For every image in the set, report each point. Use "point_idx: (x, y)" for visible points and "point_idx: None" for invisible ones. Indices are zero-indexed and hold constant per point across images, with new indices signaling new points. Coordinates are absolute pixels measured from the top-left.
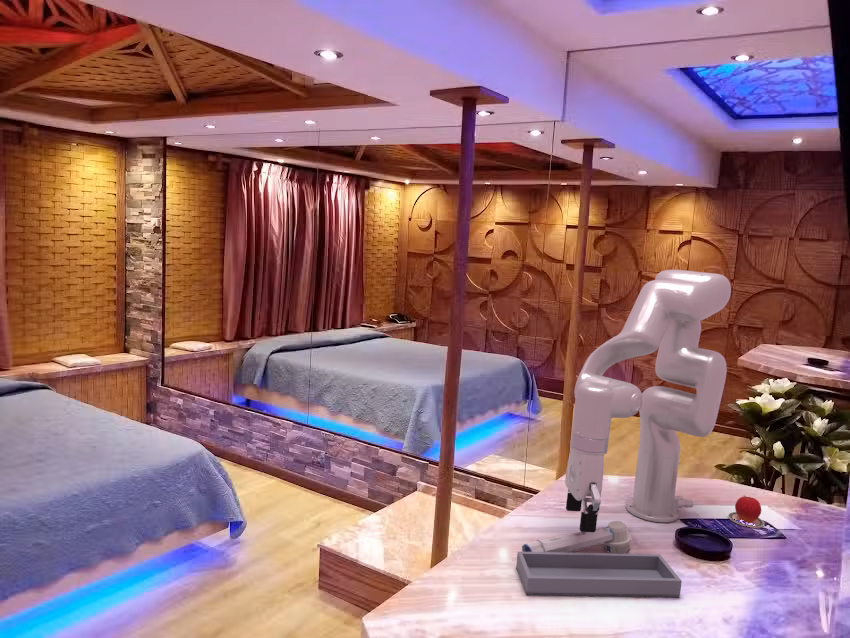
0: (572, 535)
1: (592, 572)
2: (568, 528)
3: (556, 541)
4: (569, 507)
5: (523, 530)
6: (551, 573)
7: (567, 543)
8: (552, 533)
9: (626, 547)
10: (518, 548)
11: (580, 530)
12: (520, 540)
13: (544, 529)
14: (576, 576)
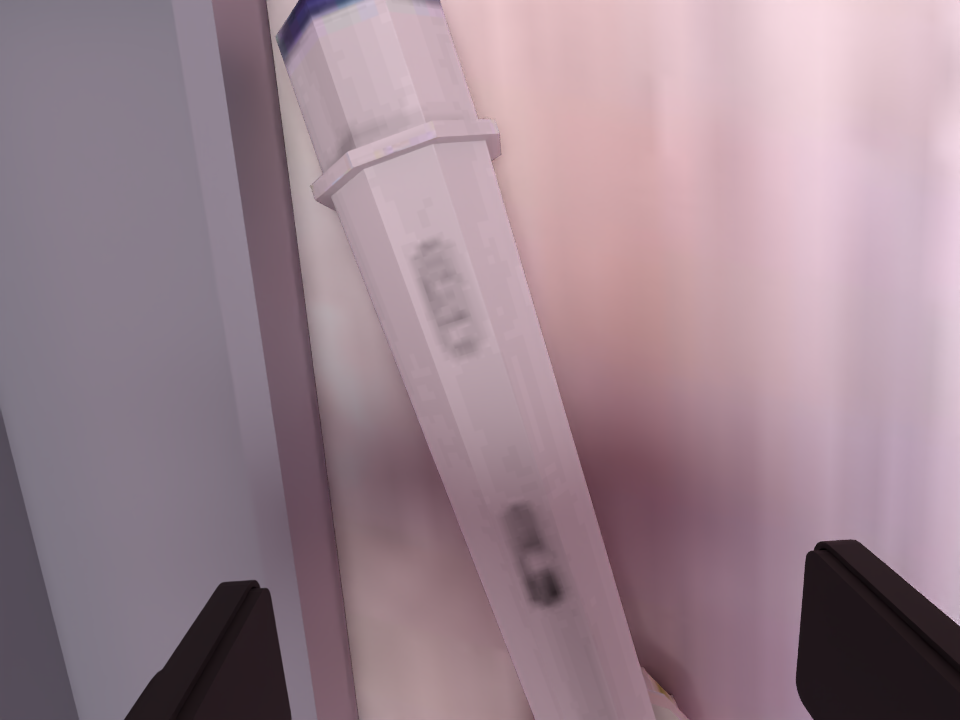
0: (511, 480)
1: (246, 509)
2: (902, 488)
3: (411, 307)
4: (834, 594)
5: (885, 109)
6: (174, 213)
7: (426, 408)
8: (826, 350)
9: None
10: (573, 11)
11: (219, 585)
12: (709, 52)
13: (895, 298)
14: (170, 390)
